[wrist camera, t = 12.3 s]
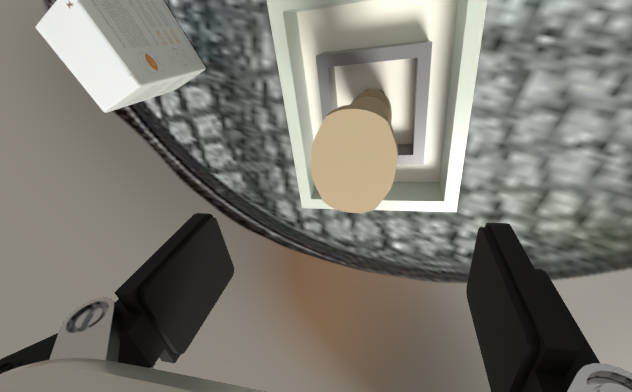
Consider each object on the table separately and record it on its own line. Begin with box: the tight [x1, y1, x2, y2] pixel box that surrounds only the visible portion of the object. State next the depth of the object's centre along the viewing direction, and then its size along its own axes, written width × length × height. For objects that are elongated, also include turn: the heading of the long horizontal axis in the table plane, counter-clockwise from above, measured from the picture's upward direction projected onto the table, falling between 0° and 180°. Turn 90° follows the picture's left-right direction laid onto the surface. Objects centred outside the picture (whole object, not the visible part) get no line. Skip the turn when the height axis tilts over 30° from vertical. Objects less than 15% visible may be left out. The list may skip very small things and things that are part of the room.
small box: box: [35, 0, 206, 113], centre depth 28 cm, size 8×6×10 cm
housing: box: [267, 0, 487, 212], centre depth 28 cm, size 20×16×6 cm
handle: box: [311, 89, 398, 213], centre depth 23 cm, size 5×6×15 cm
